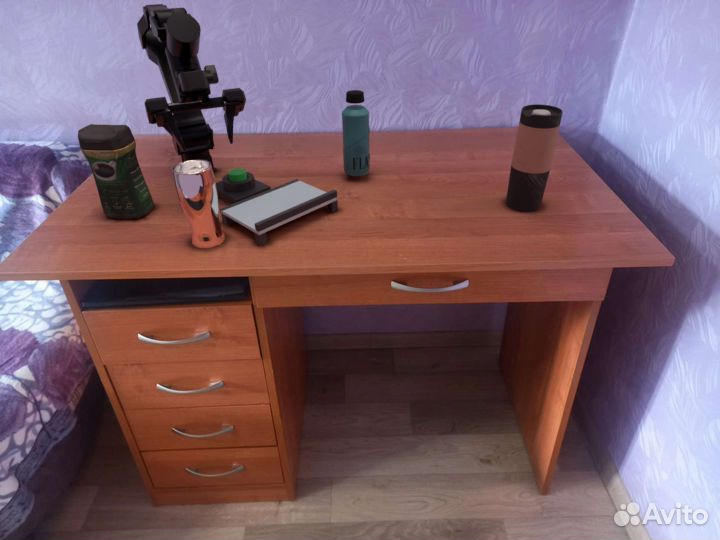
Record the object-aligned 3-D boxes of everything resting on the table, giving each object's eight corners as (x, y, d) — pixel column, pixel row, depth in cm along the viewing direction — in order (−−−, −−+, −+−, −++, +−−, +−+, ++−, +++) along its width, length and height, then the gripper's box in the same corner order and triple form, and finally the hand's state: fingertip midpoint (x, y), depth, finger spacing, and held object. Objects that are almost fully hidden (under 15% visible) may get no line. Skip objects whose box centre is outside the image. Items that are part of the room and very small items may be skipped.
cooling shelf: (222, 223, 97) (218, 203, 94) (298, 191, 108) (296, 173, 106) (260, 246, 89) (257, 225, 86) (338, 210, 100) (337, 190, 98)
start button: (225, 179, 106) (224, 171, 105) (240, 173, 108) (239, 166, 107) (235, 184, 103) (234, 176, 102) (250, 178, 106) (249, 171, 105)
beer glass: (217, 251, 87) (200, 175, 79) (183, 248, 89) (162, 172, 80) (233, 232, 93) (219, 160, 85) (200, 229, 94) (183, 157, 86)
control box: (210, 193, 108) (206, 177, 106) (243, 181, 114) (240, 165, 111) (238, 208, 102) (235, 191, 100) (271, 194, 107) (269, 178, 105)
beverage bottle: (350, 184, 111) (348, 96, 100) (338, 174, 116) (335, 89, 105) (375, 179, 113) (375, 92, 102) (362, 169, 118) (361, 86, 107)
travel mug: (542, 199, 103) (563, 105, 92) (541, 214, 97) (563, 117, 86) (506, 194, 105) (522, 102, 94) (503, 209, 100) (520, 113, 88)
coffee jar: (160, 204, 104) (136, 119, 93) (142, 221, 97) (114, 132, 87) (119, 202, 105) (91, 118, 94) (98, 219, 98) (66, 131, 88)
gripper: (131, 54, 83) (156, 139, 82) (237, 44, 89) (260, 123, 89) (137, 84, 93) (159, 160, 93) (232, 74, 100) (252, 144, 100)
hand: (208, 147), depth 93 cm, fingers open, 9 cm apart
